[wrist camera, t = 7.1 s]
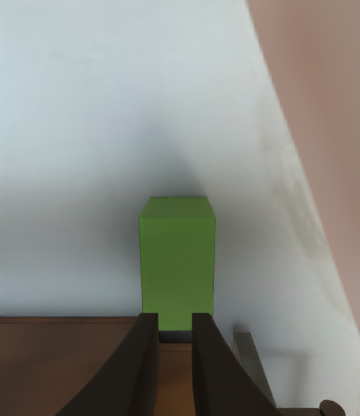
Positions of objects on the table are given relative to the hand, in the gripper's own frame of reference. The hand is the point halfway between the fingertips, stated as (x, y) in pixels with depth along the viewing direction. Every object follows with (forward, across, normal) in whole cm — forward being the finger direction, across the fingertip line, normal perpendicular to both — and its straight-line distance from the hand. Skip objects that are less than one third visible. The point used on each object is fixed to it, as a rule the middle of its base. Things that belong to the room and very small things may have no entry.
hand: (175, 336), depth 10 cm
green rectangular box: (+9, 0, 0) cm, 9 cm away
